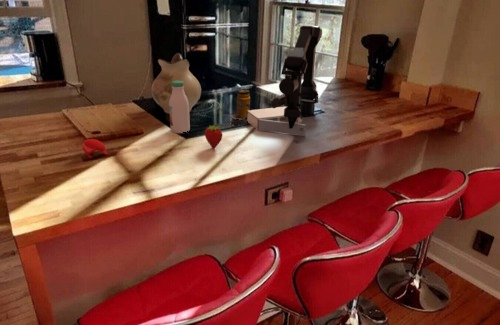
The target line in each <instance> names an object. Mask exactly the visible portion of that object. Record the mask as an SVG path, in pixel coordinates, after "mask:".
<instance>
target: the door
mask: <svg viewBox="0 0 500 325" xmlns="http://www.w3.org/2000/svg"><path fill="white" fill-rule="evenodd" d="M306 128H307V124H306V123H300V124H298V123H295V124H294V126H293V128H292V129H290V128H289V122H281V121H272V120H263V119H258V123H257V129H256V130H257V131H262V132H269V133H277V134H286V135H287V134H288V135H295V136H301V137H305V136H306V131H307V130H306Z"/></svg>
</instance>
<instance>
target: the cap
mask: <svg viewBox="0 0 500 325" xmlns="http://www.w3.org/2000/svg"><path fill="white" fill-rule="evenodd" d="M82 142H83V143H82V146H81V148H82V150H83V152H84V153H85V154H86V156H87V157H88V158H89V159H90V158H91V159H93V156H92V155H91V153H92V154H93V152H94V153H95V152H96V151H98V152H101V153H102V154H104V155H105V156H107V155H108V152H107V150H106V145H105V144H104V143H103V142H102V141H100V140H98V139H95V138H90V139H89V138H88V139H85V140H84V141H82ZM106 154H107V155H106Z"/></svg>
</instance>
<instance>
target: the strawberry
mask: <svg viewBox="0 0 500 325" xmlns="http://www.w3.org/2000/svg"><path fill="white" fill-rule="evenodd" d="M216 123H217V122H214V124H213V125H208V126H209V127H206V130H205V131H204V135H205V136H204V137H205V139H206V141H207V143H208V144H209V145H210V147H211V148H212V149H216V147H217V146H218V145H219V144H220V143H221V141H222V139H223V132H222V130H221V128H220V126H215V125H216Z"/></svg>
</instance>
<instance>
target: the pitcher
mask: <svg viewBox="0 0 500 325" xmlns="http://www.w3.org/2000/svg"><path fill="white" fill-rule="evenodd" d="M157 62H158V64H159V66H160V67H161V71H160V73H159V74H158V75H157V77H156V78H154V80H153V82H152V85H151V95H152V98H153V100H154V102H155V103H156V104H157V105H158V106H159V107H161V108H162V109H163V111H164V113H166V114H169V115H170V112H169V100H170V97H171V94H172V90H173V88H172V81H183V82H184V87H183V90H184V93H185V95H186V97H187V99H188V103H189V113H190V112H191V111H192V108H193V107H194V106H195V105H196V104H197V103H198V101H199V100H200V98H201V95H202V87H201V84H200V82H199V80H198V79H197V78H196V76H194V75H193V73H192V72H191V71H190V70H189V67H190V62H189V60H188V59H184V58H183V55H182V54H181V53H179V52H177V53H176V54H174V55H173V57H172V59H171V61H170V62H169V61H166V60H164V59H162V58H159V59H158V60H157Z"/></svg>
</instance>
